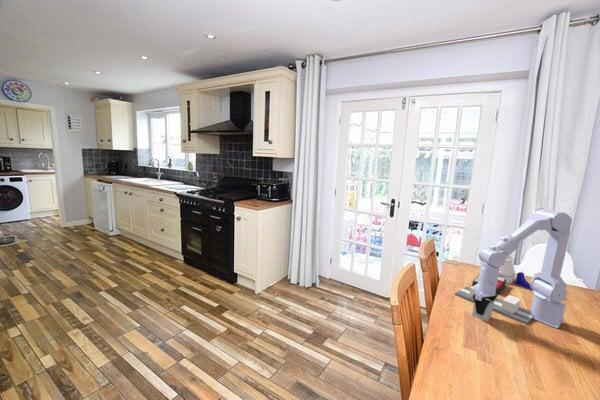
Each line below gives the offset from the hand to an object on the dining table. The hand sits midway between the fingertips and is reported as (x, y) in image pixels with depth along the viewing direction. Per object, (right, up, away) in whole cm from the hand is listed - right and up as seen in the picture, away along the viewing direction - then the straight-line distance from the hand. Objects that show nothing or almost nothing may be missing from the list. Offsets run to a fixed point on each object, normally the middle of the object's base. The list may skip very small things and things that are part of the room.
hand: (482, 312), depth 106 cm
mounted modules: (+11, 0, +10) cm, 15 cm away
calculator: (+22, +1, +28) cm, 36 cm away
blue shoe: (+43, 0, +28) cm, 51 cm away
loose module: (0, -2, 0) cm, 2 cm away
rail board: (+11, -1, +10) cm, 15 cm away
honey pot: (+34, +2, +38) cm, 51 cm away
